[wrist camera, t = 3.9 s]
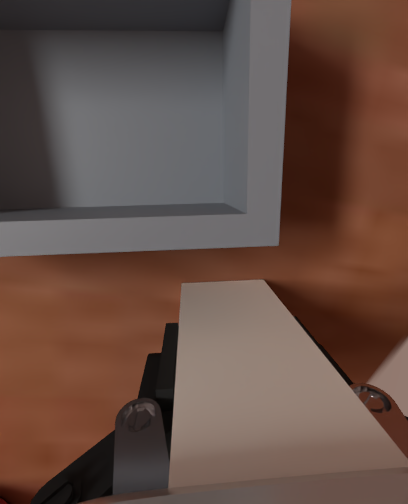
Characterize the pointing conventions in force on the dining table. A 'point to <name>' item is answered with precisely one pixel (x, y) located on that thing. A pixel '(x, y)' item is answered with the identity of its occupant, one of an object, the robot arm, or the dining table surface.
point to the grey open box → (141, 124)
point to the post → (261, 395)
